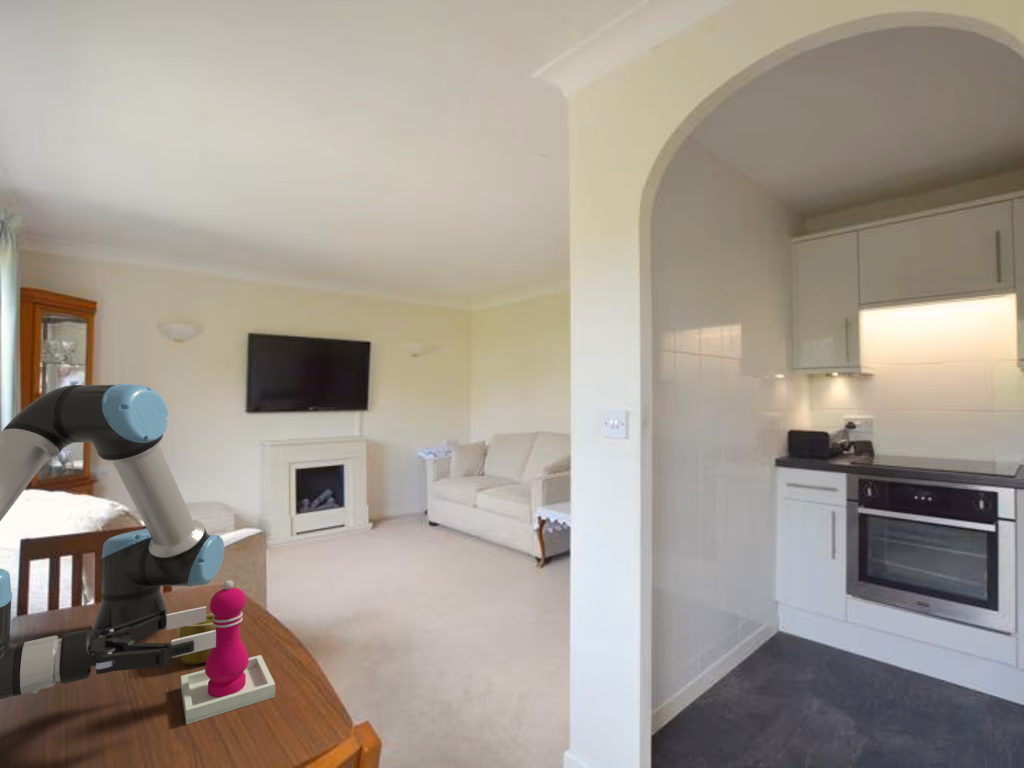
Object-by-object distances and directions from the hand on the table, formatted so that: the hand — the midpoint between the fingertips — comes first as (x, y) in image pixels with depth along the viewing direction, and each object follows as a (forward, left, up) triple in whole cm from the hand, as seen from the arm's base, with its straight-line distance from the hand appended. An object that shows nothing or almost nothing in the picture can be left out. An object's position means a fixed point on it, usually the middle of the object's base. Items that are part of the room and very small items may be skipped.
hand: (210, 625), depth 97 cm
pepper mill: (-1, +3, -13) cm, 13 cm away
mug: (-20, +2, -13) cm, 24 cm away
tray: (0, +3, -13) cm, 13 cm away
